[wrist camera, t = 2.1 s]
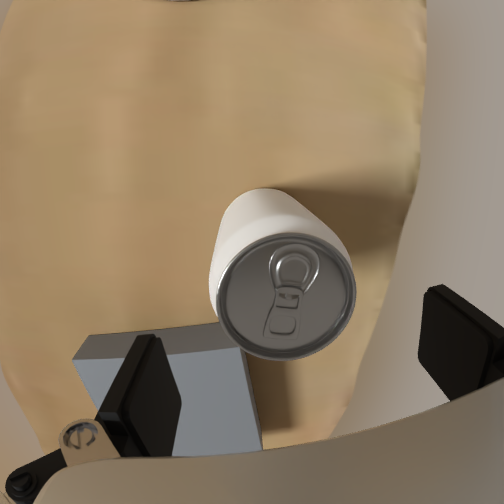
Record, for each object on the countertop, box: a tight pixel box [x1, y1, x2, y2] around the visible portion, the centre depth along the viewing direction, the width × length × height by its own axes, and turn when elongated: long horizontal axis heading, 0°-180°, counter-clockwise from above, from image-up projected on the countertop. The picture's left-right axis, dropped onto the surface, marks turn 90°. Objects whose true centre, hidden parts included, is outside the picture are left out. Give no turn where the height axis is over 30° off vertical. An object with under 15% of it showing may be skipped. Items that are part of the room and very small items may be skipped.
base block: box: [72, 322, 263, 456], centre depth 26 cm, size 14×14×4 cm
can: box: [209, 188, 356, 361], centre depth 18 cm, size 6×6×12 cm
